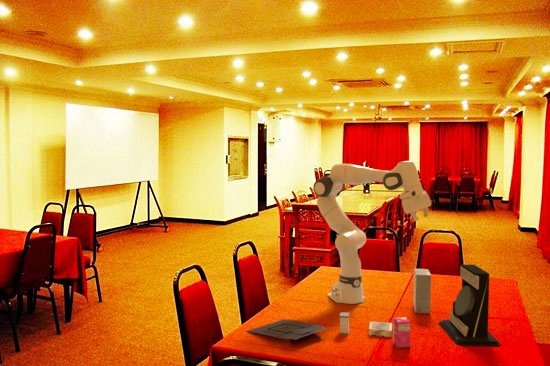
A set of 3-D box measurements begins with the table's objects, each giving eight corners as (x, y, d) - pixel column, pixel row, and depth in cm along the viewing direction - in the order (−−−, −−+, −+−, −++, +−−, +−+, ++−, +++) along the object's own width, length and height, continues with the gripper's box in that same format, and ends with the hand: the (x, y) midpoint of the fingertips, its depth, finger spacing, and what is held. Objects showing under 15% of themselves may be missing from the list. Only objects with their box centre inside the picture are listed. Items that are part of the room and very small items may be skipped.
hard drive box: (430, 314, 256) (431, 275, 254) (415, 313, 257) (415, 274, 256) (427, 305, 271) (428, 268, 270) (412, 304, 272) (413, 268, 271)
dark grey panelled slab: (292, 347, 208) (292, 338, 208) (246, 337, 230) (245, 329, 230) (330, 333, 225) (330, 325, 225) (284, 324, 247) (283, 317, 247)
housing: (339, 334, 227) (339, 315, 226) (340, 330, 232) (340, 312, 232) (348, 334, 226) (348, 316, 226) (349, 331, 231) (349, 312, 231)
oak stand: (368, 335, 225) (369, 328, 225) (370, 327, 235) (370, 321, 235) (391, 337, 223) (391, 330, 223) (391, 329, 233) (392, 322, 233)
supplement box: (392, 343, 216) (393, 317, 215) (406, 343, 216) (406, 317, 215) (397, 348, 210) (397, 322, 209) (410, 348, 210) (411, 321, 210)
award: (437, 322, 243) (438, 261, 242) (476, 322, 243) (477, 261, 241) (458, 346, 213) (459, 276, 211) (502, 347, 212) (504, 277, 211)
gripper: (419, 189, 260) (426, 215, 259) (397, 196, 246) (405, 224, 245) (429, 187, 255) (437, 213, 255) (408, 194, 241) (416, 222, 241)
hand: (421, 218), depth 250 cm, fingers open, 8 cm apart
